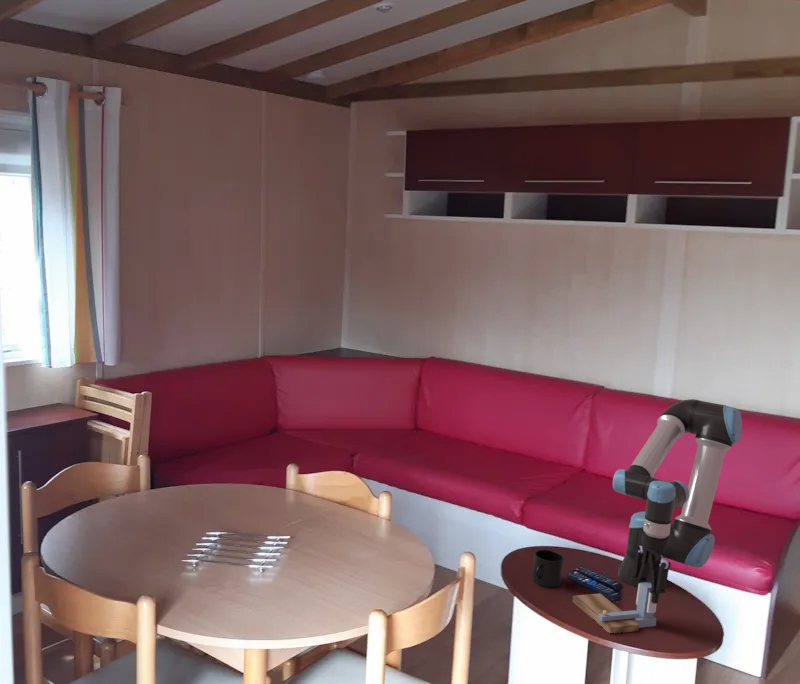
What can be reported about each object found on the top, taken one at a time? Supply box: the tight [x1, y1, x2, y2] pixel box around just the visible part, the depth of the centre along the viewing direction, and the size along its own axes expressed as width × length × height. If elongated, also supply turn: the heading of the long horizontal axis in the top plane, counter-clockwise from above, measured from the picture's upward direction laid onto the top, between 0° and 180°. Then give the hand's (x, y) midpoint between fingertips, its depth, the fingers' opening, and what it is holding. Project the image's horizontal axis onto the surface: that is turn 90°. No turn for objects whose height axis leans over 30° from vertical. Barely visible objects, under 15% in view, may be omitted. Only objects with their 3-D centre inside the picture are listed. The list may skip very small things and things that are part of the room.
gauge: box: [598, 582, 658, 629], centre depth 230 cm, size 18×5×12 cm, turn 110°
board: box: [572, 592, 640, 634], centre depth 235 cm, size 10×20×2 cm, turn 20°
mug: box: [531, 549, 565, 588], centre depth 254 cm, size 9×12×9 cm
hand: (645, 607), depth 232 cm, fingers open, 4 cm apart
